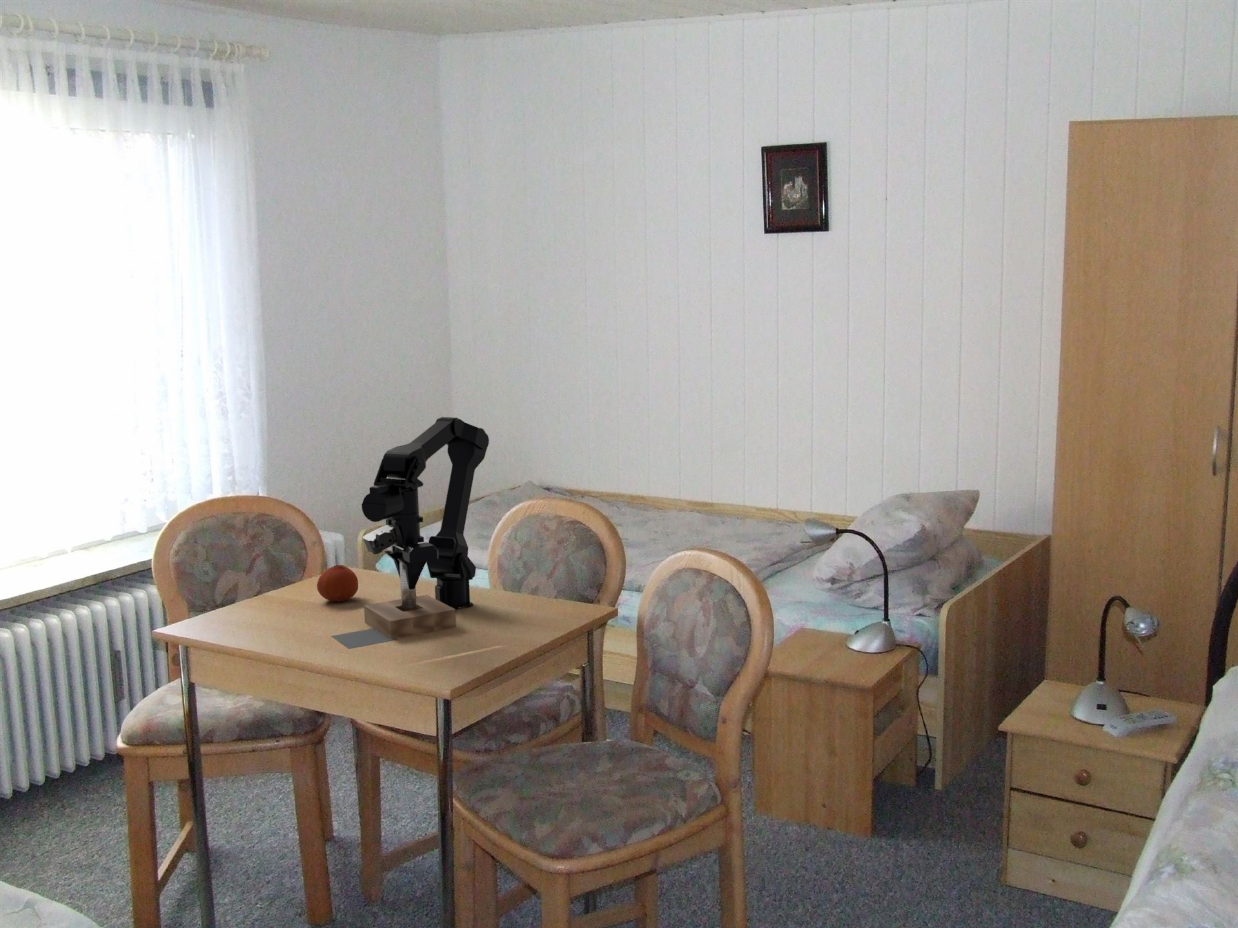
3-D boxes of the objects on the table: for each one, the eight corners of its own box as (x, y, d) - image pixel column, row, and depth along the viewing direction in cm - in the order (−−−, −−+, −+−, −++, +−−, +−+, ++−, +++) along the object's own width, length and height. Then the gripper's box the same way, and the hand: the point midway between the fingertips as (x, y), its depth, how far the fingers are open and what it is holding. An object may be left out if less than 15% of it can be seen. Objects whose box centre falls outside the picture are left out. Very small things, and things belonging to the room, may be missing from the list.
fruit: (319, 596, 279) (316, 561, 277) (359, 594, 280) (357, 559, 279) (316, 607, 270) (314, 571, 269) (358, 604, 272) (356, 568, 270)
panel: (378, 629, 253) (378, 627, 253) (397, 641, 245) (397, 639, 245) (331, 637, 248) (330, 635, 248) (349, 650, 239) (348, 648, 239)
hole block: (427, 612, 264) (426, 594, 263) (456, 628, 252) (455, 609, 252) (364, 624, 257) (363, 605, 256) (391, 640, 245) (390, 621, 244)
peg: (413, 603, 256) (410, 556, 254) (419, 606, 253) (416, 558, 252) (399, 605, 254) (396, 558, 253) (405, 609, 252) (402, 561, 250)
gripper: (349, 509, 254) (353, 584, 257) (384, 525, 239) (388, 604, 241) (400, 503, 260) (404, 575, 263) (438, 517, 244) (441, 594, 247)
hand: (408, 587), depth 253 cm, fingers closed on peg, 3 cm apart
